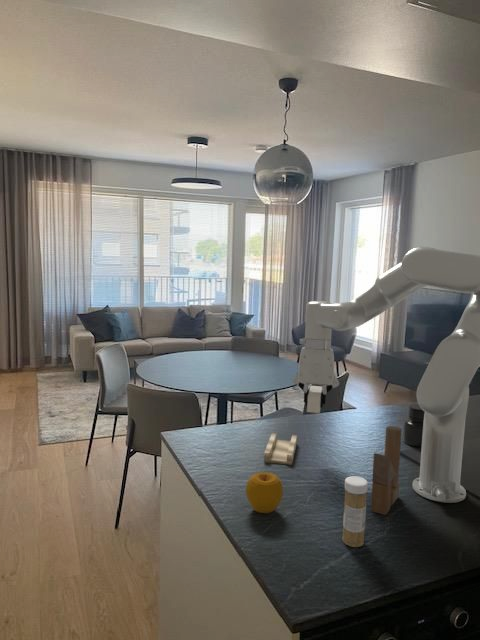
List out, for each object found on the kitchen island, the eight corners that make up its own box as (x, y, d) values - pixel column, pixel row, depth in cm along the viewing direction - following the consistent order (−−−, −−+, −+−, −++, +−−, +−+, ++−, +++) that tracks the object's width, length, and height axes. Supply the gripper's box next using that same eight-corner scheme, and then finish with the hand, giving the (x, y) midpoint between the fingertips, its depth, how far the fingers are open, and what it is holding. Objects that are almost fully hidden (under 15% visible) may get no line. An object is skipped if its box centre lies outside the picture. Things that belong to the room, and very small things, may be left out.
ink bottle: (429, 438, 160) (431, 403, 159) (437, 448, 151) (440, 411, 150) (398, 437, 161) (401, 401, 160) (405, 447, 152) (407, 410, 151)
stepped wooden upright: (370, 511, 113) (374, 437, 110) (384, 493, 122) (388, 424, 119) (386, 516, 111) (390, 440, 108) (399, 497, 120) (403, 427, 117)
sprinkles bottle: (349, 533, 103) (352, 473, 102) (368, 541, 100) (372, 480, 99) (337, 541, 100) (340, 480, 98) (357, 551, 97) (360, 487, 95)
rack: (291, 464, 137) (292, 455, 137) (263, 461, 139) (264, 452, 139) (296, 444, 153) (296, 435, 153) (271, 441, 154) (271, 433, 154)
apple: (251, 523, 107) (252, 484, 106) (240, 504, 115) (241, 468, 114) (287, 517, 109) (288, 480, 108) (274, 499, 117) (275, 465, 116)
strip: (319, 413, 135) (320, 397, 135) (306, 411, 136) (307, 396, 136) (321, 400, 147) (322, 386, 147) (309, 399, 148) (310, 385, 147)
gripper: (287, 344, 137) (284, 406, 140) (347, 348, 134) (343, 412, 136) (290, 340, 144) (287, 399, 147) (347, 343, 141) (343, 404, 144)
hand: (314, 405), depth 142 cm, fingers closed on strip, 3 cm apart
